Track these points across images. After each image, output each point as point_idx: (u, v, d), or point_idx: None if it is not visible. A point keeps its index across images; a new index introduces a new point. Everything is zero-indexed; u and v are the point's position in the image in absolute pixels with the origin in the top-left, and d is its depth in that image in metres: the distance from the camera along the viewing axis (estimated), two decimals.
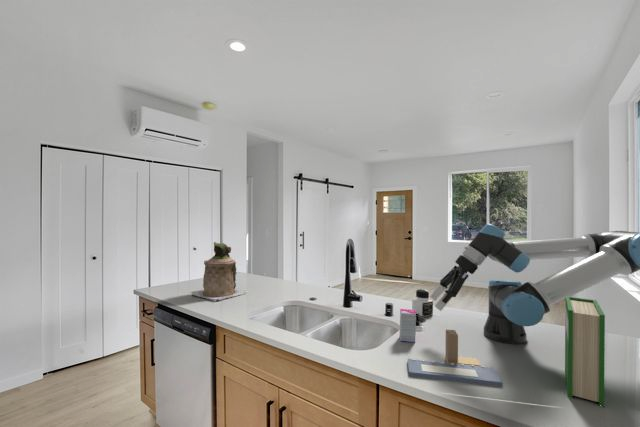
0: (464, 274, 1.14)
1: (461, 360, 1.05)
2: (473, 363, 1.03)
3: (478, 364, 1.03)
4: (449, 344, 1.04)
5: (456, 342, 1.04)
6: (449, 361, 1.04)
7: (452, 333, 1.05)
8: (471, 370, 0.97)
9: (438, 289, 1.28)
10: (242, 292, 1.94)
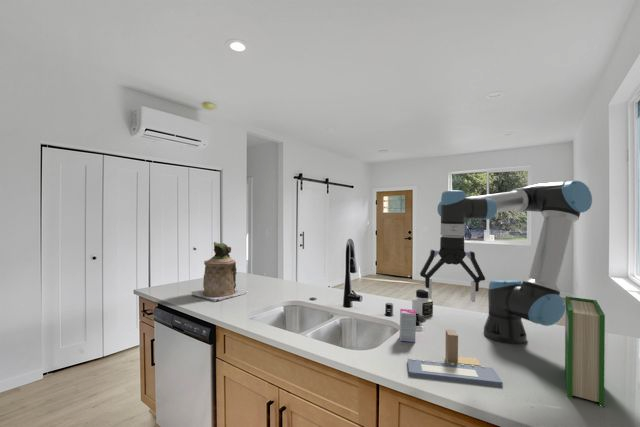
0: None
1: (461, 360, 1.05)
2: (473, 363, 1.03)
3: (478, 364, 1.03)
4: (449, 344, 1.04)
5: (456, 342, 1.04)
6: (449, 361, 1.04)
7: (452, 333, 1.05)
8: (471, 370, 0.97)
9: None
10: (242, 292, 1.94)
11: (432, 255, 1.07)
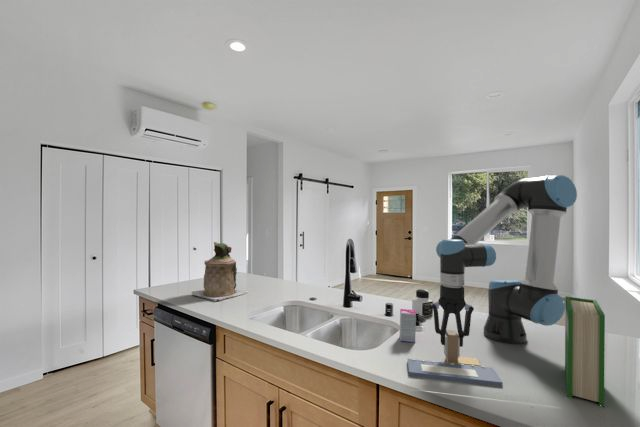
0: None
1: (461, 360, 1.05)
2: (473, 363, 1.03)
3: (478, 364, 1.03)
4: (449, 344, 1.04)
5: (456, 342, 1.04)
6: (449, 361, 1.04)
7: (452, 333, 1.05)
8: (471, 370, 0.97)
9: None
10: (242, 292, 1.94)
11: (435, 309, 1.06)
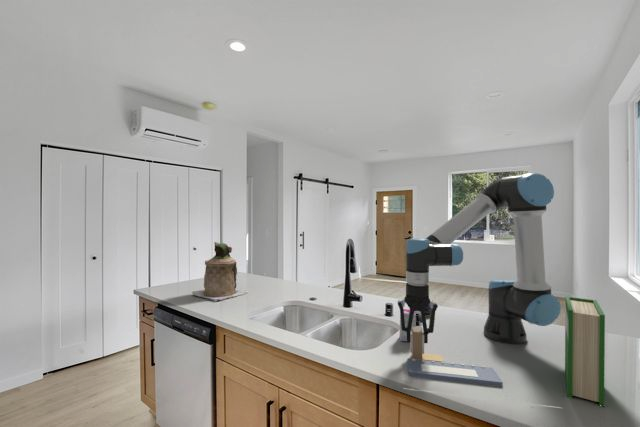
0: None
1: (426, 356, 1.08)
2: (437, 359, 1.06)
3: (442, 360, 1.05)
4: (414, 341, 1.06)
5: (420, 339, 1.06)
6: (414, 357, 1.06)
7: (417, 330, 1.07)
8: (471, 370, 0.97)
9: (412, 338, 1.08)
10: (243, 292, 1.94)
11: (400, 307, 1.09)
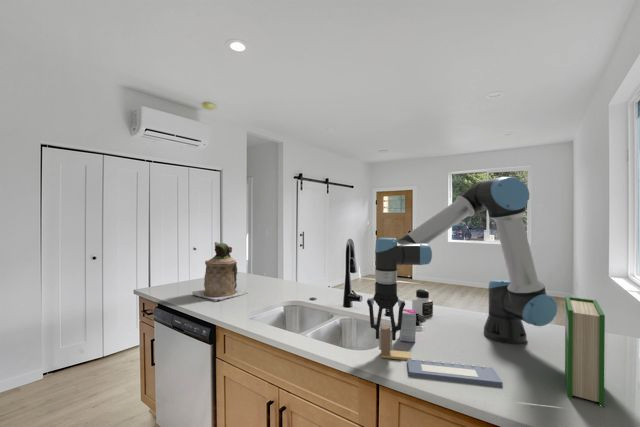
0: None
1: (394, 353, 1.10)
2: (404, 356, 1.08)
3: (409, 357, 1.07)
4: (382, 338, 1.09)
5: (388, 336, 1.08)
6: (382, 354, 1.09)
7: (385, 328, 1.10)
8: (471, 370, 0.97)
9: None
10: (243, 292, 1.94)
11: (369, 305, 1.11)
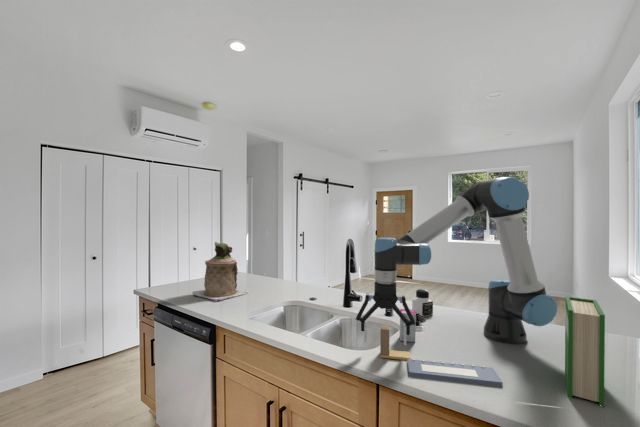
0: None
1: (393, 353, 1.10)
2: (404, 356, 1.08)
3: (408, 357, 1.07)
4: (381, 338, 1.09)
5: (387, 336, 1.08)
6: (381, 354, 1.09)
7: (385, 328, 1.10)
8: (471, 370, 0.97)
9: (366, 328, 1.12)
10: (243, 292, 1.94)
11: (366, 300, 1.11)
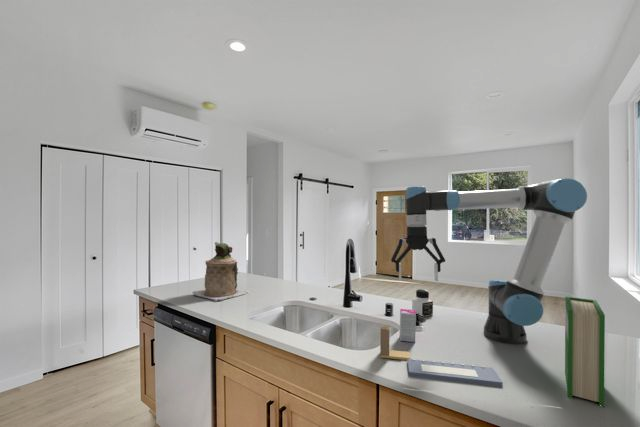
0: None
1: (393, 353, 1.10)
2: (404, 356, 1.08)
3: (408, 357, 1.07)
4: (381, 338, 1.09)
5: (387, 336, 1.08)
6: (381, 354, 1.09)
7: (385, 328, 1.10)
8: (471, 370, 0.97)
9: None
10: (243, 292, 1.94)
11: (400, 243, 1.24)
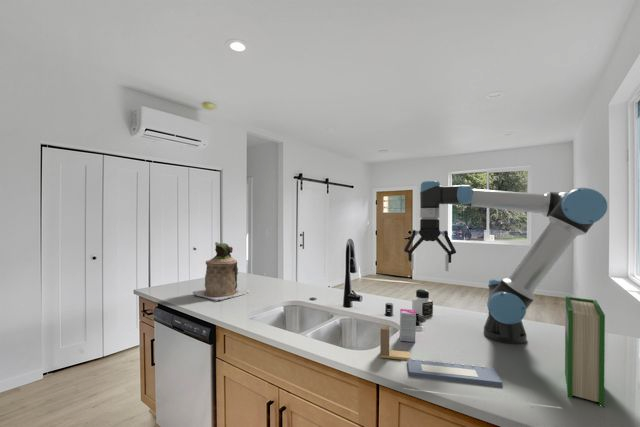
0: None
1: (393, 353, 1.10)
2: (404, 356, 1.08)
3: (408, 357, 1.07)
4: (381, 338, 1.09)
5: (387, 336, 1.08)
6: (381, 354, 1.09)
7: (385, 328, 1.10)
8: (471, 370, 0.97)
9: None
10: (244, 292, 1.94)
11: (413, 234, 1.31)
